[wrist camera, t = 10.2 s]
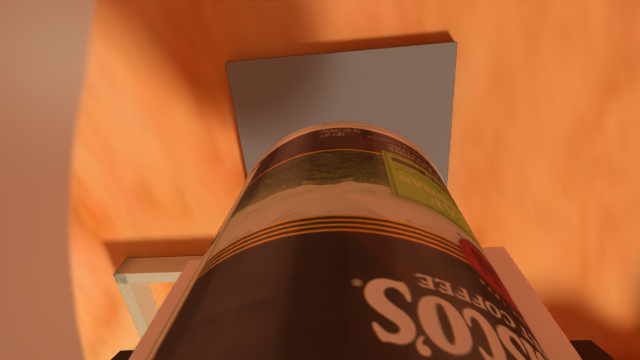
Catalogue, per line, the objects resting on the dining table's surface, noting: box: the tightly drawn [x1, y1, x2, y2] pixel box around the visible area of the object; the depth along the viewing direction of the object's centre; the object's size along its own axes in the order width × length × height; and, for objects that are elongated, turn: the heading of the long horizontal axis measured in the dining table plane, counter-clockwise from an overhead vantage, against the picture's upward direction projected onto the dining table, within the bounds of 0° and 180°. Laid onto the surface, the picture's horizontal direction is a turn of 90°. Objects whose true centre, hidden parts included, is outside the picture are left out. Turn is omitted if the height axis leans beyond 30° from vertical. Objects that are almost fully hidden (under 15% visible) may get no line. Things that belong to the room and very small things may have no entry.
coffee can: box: [145, 121, 549, 360], centre depth 11 cm, size 10×10×14 cm
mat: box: [225, 41, 457, 187], centre depth 24 cm, size 14×14×1 cm
